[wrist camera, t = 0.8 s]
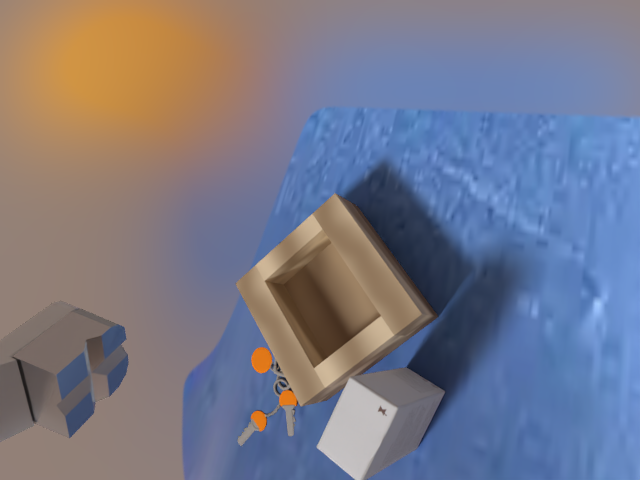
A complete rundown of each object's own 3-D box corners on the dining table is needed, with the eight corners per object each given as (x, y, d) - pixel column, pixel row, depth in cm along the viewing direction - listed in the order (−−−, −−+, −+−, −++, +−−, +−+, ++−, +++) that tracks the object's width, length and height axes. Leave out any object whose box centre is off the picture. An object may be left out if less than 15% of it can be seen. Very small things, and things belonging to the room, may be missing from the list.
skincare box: (405, 365, 45) (350, 373, 35) (446, 391, 43) (401, 407, 32) (376, 423, 45) (313, 447, 35) (416, 451, 43) (361, 486, 33)
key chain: (257, 325, 54) (253, 324, 53) (313, 338, 50) (309, 338, 50) (235, 442, 53) (230, 443, 52) (291, 464, 49) (287, 466, 48)
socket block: (357, 205, 50) (335, 193, 46) (438, 316, 44) (421, 314, 40) (263, 288, 54) (235, 283, 50) (326, 400, 48) (300, 406, 44)
